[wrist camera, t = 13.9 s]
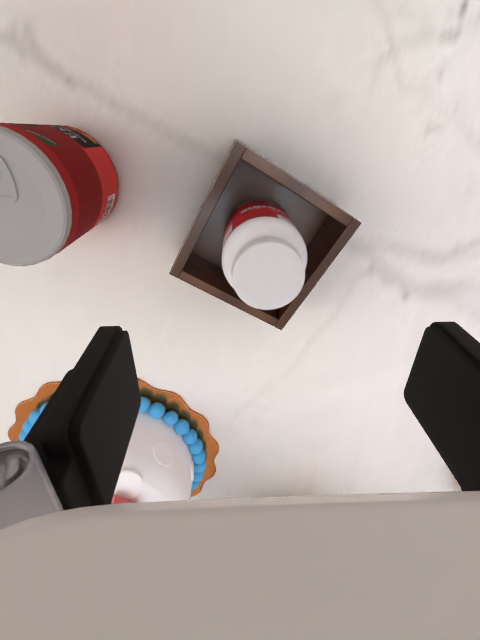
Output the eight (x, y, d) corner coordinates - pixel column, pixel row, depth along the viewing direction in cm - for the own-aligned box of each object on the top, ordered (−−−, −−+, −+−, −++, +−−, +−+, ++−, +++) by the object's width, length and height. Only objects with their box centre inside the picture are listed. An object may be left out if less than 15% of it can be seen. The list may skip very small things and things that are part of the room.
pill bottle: (301, 210, 30) (334, 249, 20) (275, 271, 33) (294, 330, 23) (236, 186, 29) (238, 215, 19) (215, 251, 31) (208, 305, 22)
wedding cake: (-14, 365, 38) (-181, 526, 23) (227, 384, 41) (224, 542, 25) (32, 506, 52) (-53, 666, 37) (209, 514, 54) (201, 669, 39)
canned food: (104, 119, 27) (33, 112, 17) (132, 219, 31) (86, 260, 21) (12, 131, 27) (-108, 132, 17) (51, 229, 31) (-30, 274, 21)
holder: (178, 251, 32) (168, 273, 27) (235, 138, 27) (236, 140, 22) (274, 301, 35) (281, 330, 30) (340, 207, 30) (361, 223, 25)
